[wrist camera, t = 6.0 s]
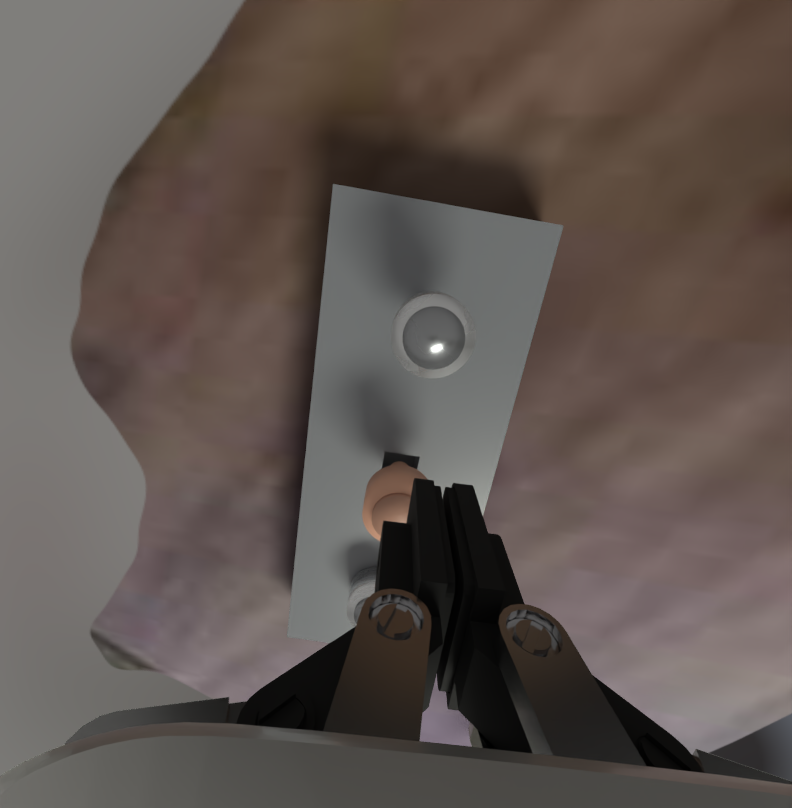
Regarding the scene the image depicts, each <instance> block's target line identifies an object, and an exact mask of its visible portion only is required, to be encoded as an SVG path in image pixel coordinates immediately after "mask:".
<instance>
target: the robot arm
mask: <svg viewBox="0 0 792 808" xmlns="http://www.w3.org/2000/svg"><path fill="white" fill-rule="evenodd" d="M436 673H437V681H438V689H439V691H446V695H447V705H448V709H452V710H459V711H460V712H461V713H462V714H463V715H464V716H465V717H466V718H467V719H468V720H469V721H470V723H469V728H468V729H469V737H470V742H471V745H472V747H468V746H459V745H450V744H440V743H431V742H421V741H420V731H421V721H422V713H423V712H424V711H425V710H426V709H427V708H428V707H429V703H430V698H431V694H432V690H433V686H434V682H435V678H436ZM0 808H792V781H789V780H786V779H783V778H780V777H777V776H774V775H771V774H768V773H765V772H762V771H759V770H756V769H753V768H750V767H747V766H745V765H741V764H739V763H736V762H733V761H730V760H727V759H724V758H721V757H718V756H715V755H712V754H709V753H706V752H704V751H701V750H698V749H696V750H695V752H694V753H693V755H691V754H690V752H689V751H688V750H687V749H686V748H685V747H684V746H683V745H682V744H681V743H680V742H679V741H678V740H677V739H675V738H674V737H673V736H672V735H671V734H670V733H668V732H667V731H666V730H664V729H663V728H662V727H660V726H659V725H658V724H656V723H655V722H654V721H652V720H651V719H650V718H648V717H647V716H646V715H644V714H643V713H642V712H640V711H639V710H638V709H636V708H635V707H634V706H632V705H631V704H630V703H629V702H627V701H626V700H625V699H623V698H622V697H621V696H619V695H618V694H617V693H615V692H614V691H613V690H611V689H610V688H609V687H607V686H606V685H605V684H603V683H602V682H601V681H599V680H598V679H597V678H595V677H594V676H593V675H592V674H591V672H590V671H589V669H588V667H587V666H586V664H585V662H584V661H583V659H582V657H581V655H580V654H579V652H578V650H577V649H576V647H575V645H574V644H573V642H572V640H571V639H570V637H569V635H568V634H567V632H566V631H565V629H564V628H563V627H562V625H561V624H560V623H559V622H558V621H557V620H556V619H555V618H553V617H552V616H551V615H550V614H548V613H546V612H545V611H543V610H541V609H539V608H536V607H534V606H531V605H525V604H524V602H523V599H522V596H521V593H520V590H519V587H518V585H517V582H516V579H515V576H514V573H513V570H512V567H511V565H510V562H509V559H508V556H507V553H506V550H505V548H504V545H503V542H502V539H501V537H500V536H499V535H497V534H489V533H488V532H487V528H486V525H485V522H484V519H483V515H482V512H481V509H480V506H479V502H478V499H477V496H476V493H475V490H474V487H473V485H467V484H459V483H453V484H452V487H451V488H450V487H445V490H444V494H443V498H442V492H441V487H440V486H435V485H434V480H427V479H420V478H414V481H413V487H412V492H411V498H410V504H409V510H408V516H407V522H406V523H400V522H392V521H383V525H382V532H381V538H380V545H379V553H378V561H377V570H376V581H375V592H374V593H373V594H372V595H371V596H370V597H368V598H367V599H366V601H365V603H364V604H363V606H362V609H361V612H360V615H359V618H358V621H357V625H356V626H355V627H354V628H352V629H351V630H349V631H348V632H346V633H345V634H343V635H342V636H340V637H339V638H337V639H336V640H334V641H332V642H331V643H329V644H328V645H326V646H325V647H323V648H322V649H320V650H319V651H317V652H316V653H314V654H313V655H311V656H310V657H308V658H307V659H305V660H304V661H302V662H301V663H299V664H298V665H296V666H294V667H293V668H291V669H290V670H288V671H287V672H285V673H284V674H282V675H281V676H279V677H278V678H276V679H275V680H273V681H272V682H270V683H269V684H267V685H266V686H264V687H263V688H261V689H260V690H259V691H257V692H256V693H255V694H254V695H253V696H252V697H250V698H249V700H248V701H246V702H238V703H230V704H229V697H226V698H218V699H210V700H202V701H194V702H187V703H179V704H170V705H162V706H154V707H147V708H139V709H131V710H123V711H116V712H113V713H109V714H106V715H102V716H99V717H98V718H96V719H94V720H93V721H91V722H89V723H87V724H86V725H84V726H82V727H81V728H80V729H79V730H78V731H77V732H76V733H75V734H74V735H73V736H72V737H71V738H70V739H69V740H67V742H66V743H65V745H63V746H60V747H58V748H55V749H52V750H50V751H47V752H45V753H43V754H41V755H39V756H36V757H34V758H32V759H29V760H28V761H25V762H23V763H21V764H19V765H18V766H16V767H14V768H12V769H11V770H9V771H7V772H5V773H4V774H2V775H1V776H0Z"/></svg>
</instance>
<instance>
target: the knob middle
mask: <svg viewBox="0 0 792 808" xmlns="http://www.w3.org/2000/svg"><path fill="white" fill-rule="evenodd" d="M414 478H420V479H427V478H426V477H425V476H424V474H422V473H421V472H420V471H418V470H417V469H415V468H413V467H410V466H408V465H407V464H406V463H405V462H402V461H397V462H394V463H392V464H391V465H390V466H387V467H384V468H382V469H380V470H379V471H377V472H376V473H375V474H374V475H373V476H372V477H371V478H370V480H369V482H368V484H367V487H366V492H365V498H364V504H363V510H362V518H363V523H364V525H365V527H366V529H367V531H368V532H369V533H370V534H371V535H372V536H373V537H374V538H376V539H377V540H379V541H380V538H381V532H382V525H383V521H392V522H400V523H406V522H407V516H408V510H409V504H410V498H411V492H412V487H413V481H414ZM427 480H428V479H427Z"/></svg>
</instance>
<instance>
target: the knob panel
mask: <svg viewBox="0 0 792 808" xmlns="http://www.w3.org/2000/svg"><path fill="white" fill-rule="evenodd" d="M562 229H563V225H558V224H552V223H547V222H541V221H536V220H530V219H525V218H519V217H514V216H508V215H503V214H497V213H491V212H486V211H480V210H475V209H469V208H464V207H458V206H453V205H447V204H442V203H436V202H431V201H425V200H420V199H414V198H409V197H403V196H398V195H392V194H387V193H381V192H376V191H370V190H365V189H359V188H354V187H348V186H343V185H337V184H333V189H332V199H331V209H330V219H329V229H328V238H327V248H326V258H325V268H324V278H323V287H322V297H321V307H320V317H319V327H318V337H317V346H316V356H315V366H314V376H313V386H312V395H311V405H310V415H309V425H308V435H307V445H306V454H305V464H304V474H303V484H302V494H301V503H300V513H299V523H298V533H297V543H296V553H295V562H294V572H293V582H292V592H291V602H290V611H289V621H288V631H287V637H291V638H298V639H305V640H312V641H319V642H327V643H331V642H332V641H334V640H336V639H337V638H339V637H340V636H342V635H343V634H345V633H346V632H348V631H349V630H351V629H352V628H354V626H353V625H352V624H351V623H350V621H349V619H348V617H347V604H348V598H349V592H350V586H351V582H352V580H353V578H354V577H355V576H356V575H357V574H358V573H359V572H361V571H362V570H365V569H367V568H373V567H377V561H378V553H379V545H380V541H379V540H377V539H376V538H374V537H373V536H372V535H371V534H370V533H369V532H368V531H367V529H366V527H365V525H364V523H363V518H362V510H363V504H364V498H365V492H366V487H367V484H368V482H369V480H370V478H371V477H372V476H373V475H374V474H375V473H376V472H377V471H379V470H380V469H382V468H384V467H387V466H390V465H391V464H392V463H394V462H397V461H402V462H405V463H406V464H407V465H408V466H410V467H413V468H415V469H417V470H418V471H420V472H421V473H422V474H424V476H425V477H426V478H427V479H428V480H434V485H435V486H440V487H441V492H442V498H443V494H444V490H445V487H450V488H451V487H452V484H453V483H459V484H467V485H473V487H474V490H475V493H476V496H477V499H478V502H479V506H480V509H481V512H482V515H483V514H484V510H485V507H486V503H487V500H488V496H489V492H490V489H491V485H492V481H493V478H494V474H495V471H496V467H497V463H498V460H499V456H500V453H501V449H502V445H503V442H504V438H505V435H506V431H507V427H508V424H509V420H510V417H511V413H512V409H513V406H514V402H515V399H516V395H517V391H518V388H519V384H520V381H521V377H522V373H523V370H524V366H525V363H526V359H527V355H528V352H529V348H530V345H531V341H532V337H533V334H534V330H535V327H536V323H537V319H538V316H539V312H540V309H541V305H542V301H543V298H544V294H545V291H546V287H547V283H548V280H549V276H550V272H551V269H552V265H553V262H554V258H555V254H556V251H557V247H558V244H559V240H560V236H561V233H562ZM423 291H440V292H444V293H446V294H448V295H450V296H452V297H453V298H455V299H456V300H457V301H459V302H460V303H461V304H462V305H463V306H464V307H465V308H466V309H467V310H468V311H469V313H470V315H471V316H472V319H473V321H474V324H475V329H476V341H475V346H474V349H473V352H472V354H471V356H470V357H469V359H468V361H467V362H466V363H465V364H464V365H463V366H462V367H461V368H460V369H459V370H457V371H456V372H454V373H452V374H450V375H448V376H445V377H441V378H424V377H420V376H417V375H415V374H413V373H411V372H409V371H408V370H406V369H405V368H404V367H403V366H402V365H401V364H400V362H399V361H398V359H397V358H396V356H395V354H394V351H393V348H392V343H391V331H392V325H393V320H394V317H395V314H396V312H397V311H398V309H399V307H400V306H401V305H402V304H403V303H404V301H406V300H407V299H408V298H409V297H411V296H413V295H415V294H417V293H420V292H423Z"/></svg>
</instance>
